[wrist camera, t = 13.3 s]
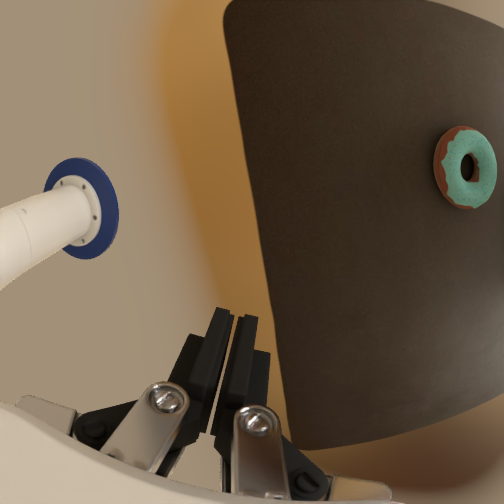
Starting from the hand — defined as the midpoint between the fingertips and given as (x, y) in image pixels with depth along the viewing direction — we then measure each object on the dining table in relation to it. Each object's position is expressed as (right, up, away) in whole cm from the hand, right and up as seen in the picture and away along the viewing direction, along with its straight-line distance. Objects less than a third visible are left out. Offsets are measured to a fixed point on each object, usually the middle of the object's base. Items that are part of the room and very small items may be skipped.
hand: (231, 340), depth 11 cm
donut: (+31, +16, +20) cm, 40 cm away
